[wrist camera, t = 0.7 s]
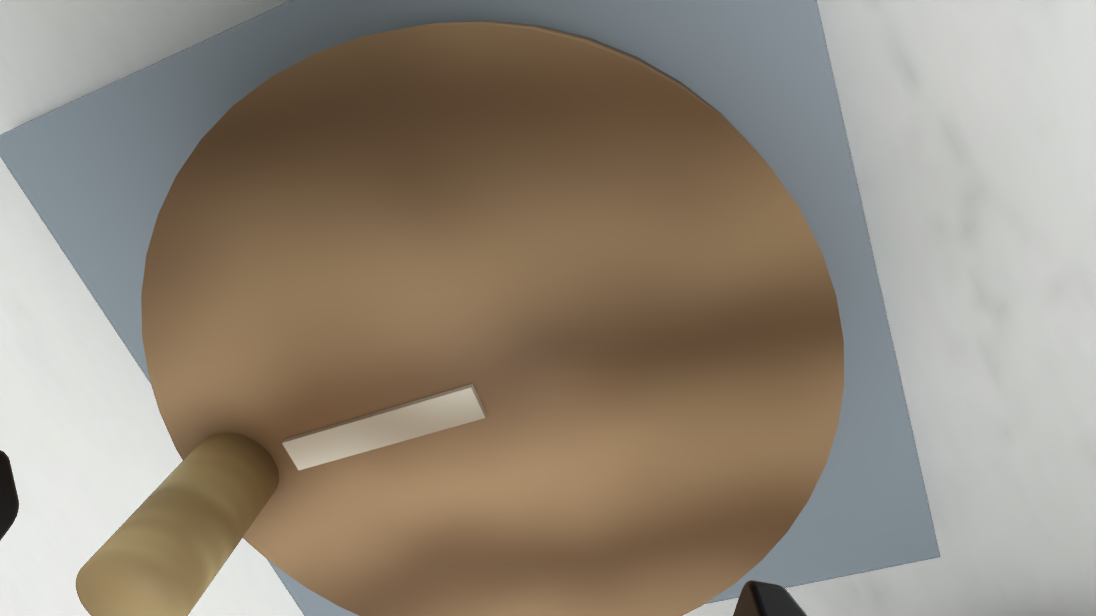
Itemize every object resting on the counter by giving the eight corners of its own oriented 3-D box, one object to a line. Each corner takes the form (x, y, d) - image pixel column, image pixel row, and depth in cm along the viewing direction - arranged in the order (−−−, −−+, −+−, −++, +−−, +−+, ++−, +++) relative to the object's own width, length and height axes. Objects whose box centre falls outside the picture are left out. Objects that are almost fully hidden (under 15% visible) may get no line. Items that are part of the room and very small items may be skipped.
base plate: (927, 535, 23) (965, 600, 21) (353, 654, 28) (326, 719, 26) (759, -208, 16) (785, -246, 13) (16, 133, 21) (-68, 152, 18)
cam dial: (884, 535, 22) (989, 753, 16) (358, 646, 27) (275, 852, 20) (718, -115, 16) (783, -190, 9) (56, 173, 20) (-210, 256, 14)
